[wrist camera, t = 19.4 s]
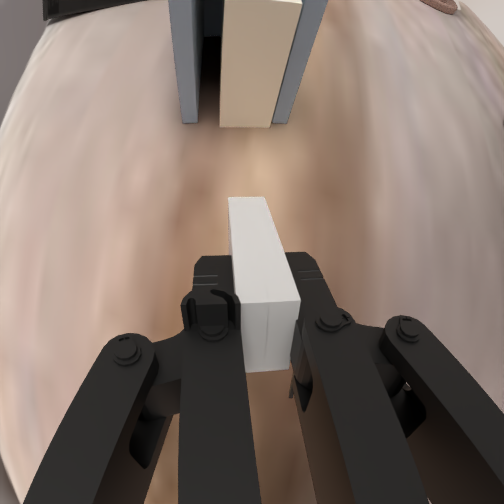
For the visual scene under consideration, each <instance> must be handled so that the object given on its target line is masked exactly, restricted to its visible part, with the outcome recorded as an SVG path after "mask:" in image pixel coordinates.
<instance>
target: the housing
mask: <svg viewBox="0 0 504 504" xmlns="http://www.w3.org/2000/svg"><path fill="white" fill-rule="evenodd" d="M301 1H302V8H301V12H300V15H299V19H298V23H297V26H296V30H295V34H294V38H293V41H292V45H291V49H290V52H289V56H288V60H287V64H286V67H285V71H284V75H283V79H282V83H281V86H280V90H279V94H278V98H277V102H276V106H275V109H274V113H273V117H272V123H285V124H287V121H288V118H289V115H290V112H291V109H292V106H293V103H294V100H295V97H296V94H297V91H298V88H299V85H300V82H301V79H302V76H303V73H304V70H305V67H306V64H307V61H308V58H309V55H310V52H311V49H312V46H313V43H314V40H315V37H316V34H317V32H318V29H319V26H320V23H321V20H322V17H323V14H324V11H325V8H326V5H327V2H328V0H301ZM168 2H169V13H170V23H171V33H172V43H173V52H174V61H175V69H176V77H177V85H178V93H179V100H180V107H181V114H182V121H183V123H198V107H199V92H200V78H201V65H202V53H203V43H204V37H207V36H221V23H222V4H223V0H168Z"/></svg>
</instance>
